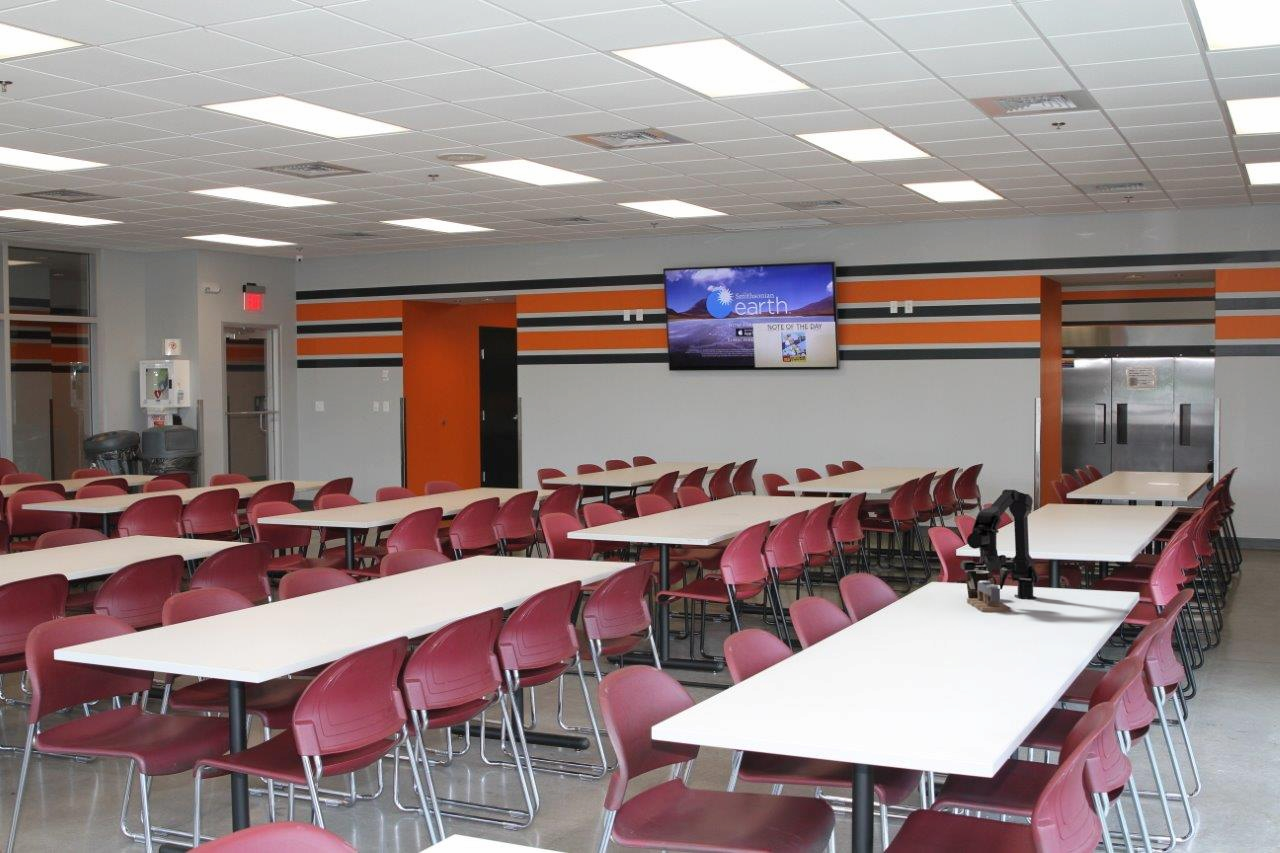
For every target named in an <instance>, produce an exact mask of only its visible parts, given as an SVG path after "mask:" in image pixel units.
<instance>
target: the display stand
mask: <svg viewBox="0 0 1280 853" xmlns="http://www.w3.org/2000/svg"><path fill="white" fill-rule="evenodd" d="M966 603H967V604H968V605H971V606H972V607H973V608H975V609H977V610H978V611H980V612H981V613H1008V612H1009V613H1010V612H1011V607H1010V606H1008V605H1006V604H1005V603H1003V602H1001V601H1000V602H991V597H990V596H988V595H986V594H985V593H983V592H981V591H978V599H970V598H967V599H966Z"/></svg>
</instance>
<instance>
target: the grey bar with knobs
mask: <svg viewBox="0 0 1280 853" xmlns="http://www.w3.org/2000/svg"><path fill="white" fill-rule="evenodd" d="M978 591H981V592H983V593H985V594H986V595H988V596H990V597H991V602H1001V589H1000V587H999V585H998V584H996V585H994V584H991V581H990V580H988V581H978Z"/></svg>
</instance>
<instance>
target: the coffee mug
mask: <svg viewBox="0 0 1280 853" xmlns="http://www.w3.org/2000/svg"><path fill="white" fill-rule="evenodd" d="M975 571H976V583H977V589H975V588H974V586H973V583H972V580H971V578H970V576H969V574H968V572H966V571H964V572H965V580H966V581H965V582H966V589H967V595H968V598H967V599H978V581H989V580H990V579H993V581H994V584H993V585H997V579H996V578H995V577H994V576H992V575H991V576H989V574H990V571H988V570H983V569H982V570H980V569H978V570H977V569H975Z"/></svg>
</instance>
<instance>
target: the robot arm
mask: <svg viewBox="0 0 1280 853" xmlns="http://www.w3.org/2000/svg"><path fill="white" fill-rule="evenodd" d="M1033 503H1034V501H1033V497H1032V496H1031V495H1030V494H1029V493H1023V492H1020V491H1018V490H1016V489H1007V488H1005V489H1003V490H1002V491H1001V494H1000V495H999V497H997V498H996V500H995V501H993V503H992V504H991V505H990V506H989V507H986V508H983V509H982V510H980V511H979V512H978V514H977V515H976V516H975V517H976V518H975V521H974V523H973V526H972V530H971V533H969V535H968V537H967V538H966V542H967V544H968V546H969V547H970V548H971V549H979V562H975V561H973V560H962V561H961V562H960V569H962V570H964V572H965V571H966V572H968V574H969V576H970V578H971V580H972V583H973V586H974V588H975V589H977V583H976V571H975V570H976V569H987V570H999V589H1000V590H1002V589H1003V587H1004V585H1005V581H1006V579H1007V577H1008V575H1009V574H1010V576H1011V580H1012V581H1013V582H1014V581H1015V582H1017V594H1014V597H1016V598H1018V599H1037V596H1035V595H1034V584H1035V583H1039V581H1040V575H1039V573H1038V571H1037V569H1036V567H1035V561H1034V560H1033V558H1032V557H1031V555H1030V546H1029V545H1030V544H1029V520H1028V519H1029V515H1030V513H1031V511H1032V509H1033ZM1008 509H1009V510H1008ZM1006 510H1008V511H1009V512H1010V513H1011V515H1012V517H1013V522H1014V523H1013V525H1014V526H1013V527H1014V545H1015V546H1014V547H1015V548H1014V549H1015V550H1014V551H1015V552H1014V553H1015V555H1014V557H1013V559H1011V560H1007V556H1006V555H1005V554H1001V555H999V553H998V548H997V534H998V533H999V530H998V527H999V525H1000V523H1001V522H1002V518H1001V517H1002V515H1003V514H1004V513H1005V512H1006Z"/></svg>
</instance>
